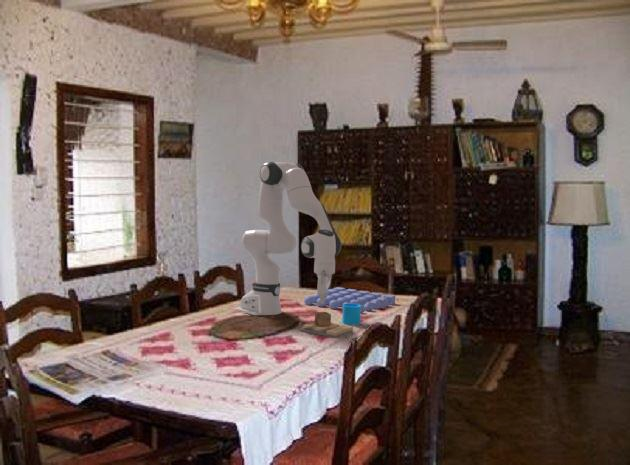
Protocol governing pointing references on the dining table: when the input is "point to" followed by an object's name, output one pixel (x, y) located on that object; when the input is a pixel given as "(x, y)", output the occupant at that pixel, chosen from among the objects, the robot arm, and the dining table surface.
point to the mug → (351, 314)
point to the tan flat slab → (317, 328)
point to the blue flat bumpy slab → (351, 299)
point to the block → (322, 319)
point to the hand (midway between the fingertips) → (323, 300)
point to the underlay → (331, 331)
